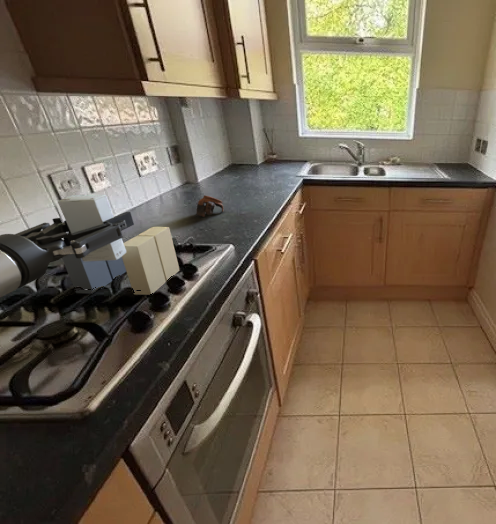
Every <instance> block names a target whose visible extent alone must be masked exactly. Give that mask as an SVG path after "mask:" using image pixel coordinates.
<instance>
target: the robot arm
mask: <svg viewBox="0 0 496 524" xmlns="http://www.w3.org/2000/svg"><path fill="white" fill-rule="evenodd" d="M51 220H52V222H53V223H52V224H50V222H42V223H40V224H38V225H37V224H36V225H35V226H32V227H30V228H27V229H24V230H22V231H20V232H17V233H4V234H0V298H2V297H4V296H7V295H8V294H10V293H12V292H14V291H16V290H18V289H21V288H22V287H24V286H26V285H29V284H30V283H32V282H34V281H37V280H38V279H40V278H42V277H43V276H45V274H46V273H47V270H48V267H49V265H50V263H54V262H57V261H59V260H61V259H62V258H63V257H64V256H67V255H70V254H75V257H76V258H83V257H85V256H87V255H88V254H89V253H90V252H92V251H95V250H97V249H99V248H101V247H103V246H106V245H108V244H110V243H112V242H114V241H116V240H119V239H121V238H122V239H123V238H124V235H123V232H122V231H125V230H126V229H128V228H131V227H133V226H134V225H135V223H134V219H133V216H132V213H131V211H125V212H123V213H120V214H118V215H116V216H115V215H114V217H113V218H111V219H108V220H106V221H104V222H103V223H104V224H102V225H98V226H95V227H91V228H88V229H85V230H81V231H78V232H74V233H71V231H70V229H69V227H68V224H67V222H66V220H62V218H61V217H55V218H52V219H51Z"/></svg>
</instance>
